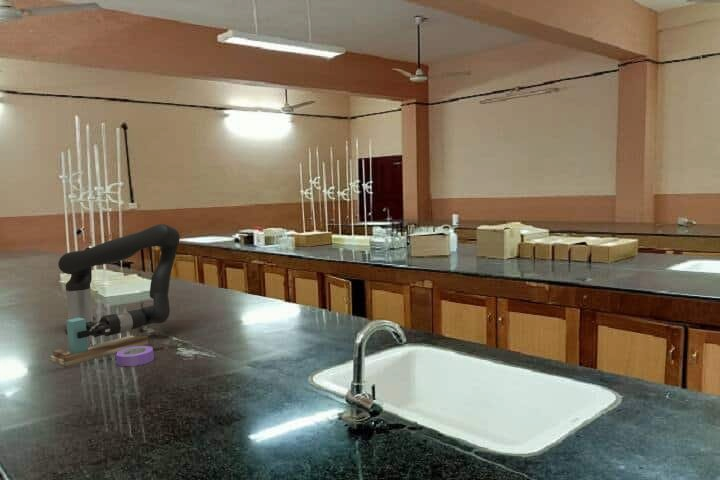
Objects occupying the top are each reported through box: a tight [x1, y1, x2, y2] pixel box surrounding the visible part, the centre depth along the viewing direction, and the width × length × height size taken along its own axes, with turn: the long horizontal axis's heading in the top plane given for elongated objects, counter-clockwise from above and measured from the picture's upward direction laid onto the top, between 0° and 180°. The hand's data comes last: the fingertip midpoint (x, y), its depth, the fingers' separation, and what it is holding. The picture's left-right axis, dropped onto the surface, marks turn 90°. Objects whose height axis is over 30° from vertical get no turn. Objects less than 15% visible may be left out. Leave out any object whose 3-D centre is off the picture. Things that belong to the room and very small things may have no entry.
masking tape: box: [115, 345, 155, 367], centre depth 184 cm, size 12×12×4 cm
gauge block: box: [65, 318, 89, 355], centre depth 188 cm, size 4×4×12 cm
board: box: [49, 335, 149, 367], centre depth 195 cm, size 12×30×4 cm, turn 143°
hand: (71, 333), depth 187 cm, fingers open, 8 cm apart
